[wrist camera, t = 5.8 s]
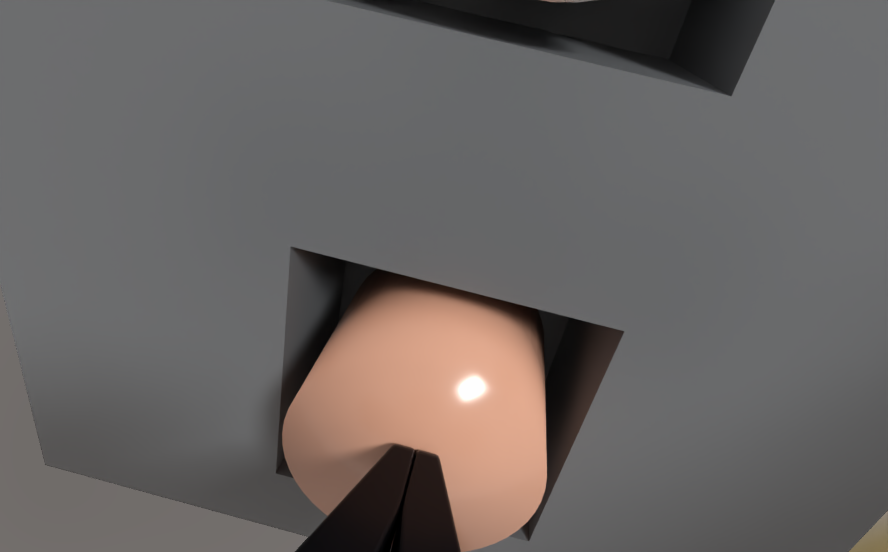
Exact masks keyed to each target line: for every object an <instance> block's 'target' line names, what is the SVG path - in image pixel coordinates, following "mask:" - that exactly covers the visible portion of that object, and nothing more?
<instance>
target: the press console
mask: <svg viewBox="0 0 888 552" xmlns="http://www.w3.org/2000/svg"><path fill="white" fill-rule="evenodd" d="M377 268H378V269H381V270H385V271H389V272H393V273H397V274H401V275H405V276H409V277H413V278H417V279H421V280H425V281H429V282H433V283H437V284H440V285H444V286H448V287H452V288H456V289H460V290H464V291H468V292H472V293H476V294H480V295H484V296H488V297H492V298H496V299H499V300H503V301H507V302H511V303H515V304H519V305H523V306H527V307H531V308H535V309H538V312H539V315H540V317H541V320H542V325H543V330H544V346H545V399H546V453H547V481H546V488H545V492H544V495H543V498H542V501H541V503H540V505H539V506H538V508H537V510H536V512H535V513H534V514H533V516H532V517H531V518H530V519H529V521H528V522H527V523H526V524H524V525H523V526H522V527H521V528H520V529H519V530H518V531H516V532H515V533H513V534H512V535H510V536H509V537H507V538H505V539H503V540H501V541H499V542H497V543H495V544H492V545H489V546H486V547H483V548H480V549H475V550H471V551H466V552H849V551H850V550H851V549H852V547H853V546H854V545H855V544H856V543H857V542H858V541H859V540H860V539H861V538H862V537H863V536H864V535H865V534H866V533H867V532H868V531H869V530H870V529H871V528H872V527H873V525H874V524H875V523H876V522H877V521H878V520H879V519H880V518H881V517H882V516H883V515H884V514H885V513H886V512H887V511H888V0H592V1H585V2H549V1H542V0H0V285H1V288H2V293H3V297H4V301H5V305H6V309H7V313H8V317H9V321H10V325H11V329H12V333H13V337H14V341H15V345H16V349H17V353H18V357H19V361H20V365H21V369H22V373H23V377H24V381H25V385H26V389H27V393H28V397H29V401H30V405H31V409H32V413H33V417H34V421H35V425H36V429H37V433H38V437H39V441H40V445H41V450H42V454H43V458H44V461H45V465H48V466H51V467H56V468H59V469H63V470H66V471H70V472H73V473H77V474H81V475H85V476H88V477H92V478H96V479H99V480H103V481H106V482H110V483H114V484H117V485H121V486H125V487H129V488H132V489H136V490H139V491H143V492H146V493H150V494H154V495H158V496H161V497H165V498H169V499H172V500H176V501H180V502H183V503H187V504H191V505H194V506H198V507H201V508H205V509H209V510H212V511H216V512H220V513H224V514H227V515H231V516H235V517H238V518H242V519H245V520H249V521H253V522H256V523H260V524H264V525H267V526H271V527H275V528H278V529H282V530H286V531H289V532H293V533H297V534H300V535H304V536H308V537H309V536H310V535H311V534H312V533H313V531H314V530H315V529H316V528H317V527H318V526H319V525H320V524H321V523H322V522H323V520H324V519H325V518H326V517H327V515H326V514H324V513H323V512H322V511H321V510H320V509H319V508H318V507H317V506H315V505H314V504H313V503H312V502H311V501H310V499H309V498H308V497H307V496H306V495H305V494H304V493H303V491H302V490H301V488H300V487H299V486H298V484H297V483H296V481H295V479H294V478H293V476H292V474H291V472H290V470H289V467H288V465H287V462H286V459H285V456H284V450H283V445H282V431H283V424H284V419H285V417H286V414H287V411H288V408H289V407H290V405H291V403H292V402H293V400H294V398H295V397H296V395H297V393H298V391H299V390H300V388H301V386H302V385H303V383H304V381H305V379H306V378H307V376H308V374H309V373H310V371H311V369H312V368H313V366H314V364H315V362H316V361H317V359H318V357H319V356H320V354H321V352H322V350H323V349H324V347H325V345H326V344H327V342H328V340H329V338H330V337H331V335H332V333H333V332H334V330H335V328H336V327H337V325H338V323H339V321H340V320H341V318H342V316H343V315H344V313H345V311H346V309H347V308H348V306H349V304H350V303H351V301H352V299H353V297H354V296H355V294H356V292H357V291H358V289H359V287H360V286H361V284H362V283H363V282H364V281H365V279H366V278H367V277H368V276H369V275H370V274H371V273H372V272H373V271H375V270H376V269H377ZM391 548H392V547H391ZM390 552H391V551H390Z"/></svg>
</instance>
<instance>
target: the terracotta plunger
mask: <svg viewBox="0 0 888 552" xmlns="http://www.w3.org/2000/svg"><path fill="white" fill-rule="evenodd" d="M394 444H400V445H403V446H407V447H411V448H413V449H414V450H415V454H416V452H417V451H418V450H422V451H426V452H430V453H433V454H436V455H438V456H439V458H440V462H441V466H442V471H443V475H444V479H445V484H446V488H447V492H448V497H449V501H450V505H451V510H452V514H453V519H454V523H455V527H456V532H457V536H458V540H459V545H460V549H461V552H466V551H471V550H475V549H480V548H483V547H486V546H489V545H492V544H495V543H497V542H499V541H501V540H503V539H505V538H507V537H509V536H510V535H512V534H513V533H515V532H516V531H518V530H519V529H520V528H521V527H522V526H523V525H524V524H526V523H527V522H528V521H529V519H530V518H531V517H532V516H533V514H534V513H535V512H536V510H537V508H538V506H539V505H540V503H541V501H542V498H543V495H544V492H545V488H546V481H547V453H546V399H545V346H544V330H543V325H542V320H541V317H540V315H539V312H538V309H535V308H531V307H527V306H523V305H519V304H515V303H511V302H507V301H503V300H499V299H496V298H492V297H488V296H484V295H480V294H476V293H472V292H468V291H464V290H460V289H456V288H452V287H448V286H444V285H440V284H437V283H433V282H429V281H425V280H421V279H417V278H413V277H409V276H405V275H401V274H397V273H393V272H389V271H385V270H381V269H378V268H377V269H376V270H375V271H373V272H372V273H371V274H370V275H369V276H368V277H367V278H366V279H365V281H364V282H363V283H362V284H361V286H360V287H359V289H358V291H357V292H356V294H355V296H354V297H353V299H352V301H351V303H350V304H349V306H348V308H347V309H346V311H345V313H344V315H343V316H342V318H341V320H340V321H339V323H338V325H337V327H336V328H335V330H334V332H333V333H332V335H331V337H330V338H329V340H328V342H327V344H326V345H325V347H324V349H323V350H322V352H321V354H320V356H319V357H318V359H317V361H316V362H315V364H314V366H313V368H312V369H311V371H310V373H309V374H308V376H307V378H306V379H305V381H304V383H303V385H302V386H301V388H300V390H299V391H298V393H297V395H296V397H295V398H294V400H293V402H292V403H291V405H290V407H289V408H288V411H287V414H286V417H285V419H284V424H283V431H282V445H283V450H284V456H285V459H286V462H287V465H288V467H289V470H290V472H291V474H292V476H293V478H294V479H295V481H296V483H297V484H298V486H299V487H300V488H301V490H302V491H303V493H304V494H305V495H306V496H307V497H308V498H309V499H310V501H311V502H312V503H313V504H314V505H315V506H317V507H318V508H319V509H320V510H321V511H322V512H323V513H324V514H326V515H327V516H328V515H329V514H330V513H331V512H332V511H333V510H334V508H335V507H336V506H337V505H338V504H339V503H340V502H341V501H342V500H343V499H344V497H345V496H346V495H347V494H348V493H349V492H350V491H351V490H352V489H353V488H354V487H355V485H356V484H357V483H358V482H359V481H360V480H361V479H362V478H363V477H364V476H365V474H366V473H367V472H368V471H369V470H370V469H371V468H372V467H373V466H374V465H375V464H376V462H377V461H378V460H379V459H380V458H381V457H382V456H383V455H384V454H385V453H386V451H387V450H388V449H389V448H390V447H391V446H392V445H394ZM392 544H393V543H392Z"/></svg>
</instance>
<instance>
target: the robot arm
mask: <svg viewBox="0 0 888 552" xmlns="http://www.w3.org/2000/svg"><path fill="white" fill-rule="evenodd" d="M392 543H393V544H392ZM391 547H392V548H391ZM390 551H391V552H461V549H460V545H459V540H458V536H457V532H456V527H455V523H454V519H453V514H452V510H451V505H450V501H449V497H448V492H447V488H446V484H445V479H444V475H443V471H442V466H441V462H440V458H439V456H438V455H436V454H433V453H430V452H426V451H422V450H418V451H417V452H416V454H415V450H414V449H413V448H411V447H407V446H403V445H400V444H394V445H392V446H391V447H390V448H389V449H388V450H387V451H386V453H385V454H384V455H383V456H382V457H381V458H380V459H379V460H378V461H377V462H376V464H375V465H374V466H373V467H372V468H371V469H370V470H369V471H368V472H367V473H366V474H365V476H364V477H363V478H362V479H361V480H360V481H359V482H358V483H357V484H356V485H355V487H354V488H353V489H352V490H351V491H350V492H349V493H348V494H347V495H346V496H345V497H344V499H343V500H342V501H341V502H340V503H339V504H338V505H337V506H336V507H335V508H334V510H333V511H332V512H331V513H330V514H329V515H328V516H327V517H326V518H325V519H324V520H323V522H322V523H321V524H320V525H319V526H318V527H317V528H316V529H315V530H314V531H313V533H312V534H311V535H310V536H309V537H308V538H307V539H306V540H305V541H304V542H303V543H302V545H301V546H300V547H299V548H298V549H297V550H296V551H295V552H390Z"/></svg>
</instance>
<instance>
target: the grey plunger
mask: <svg viewBox="0 0 888 552" xmlns="http://www.w3.org/2000/svg"><path fill="white" fill-rule="evenodd" d="M542 1H549V2H585V1H592V0H542Z"/></svg>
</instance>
